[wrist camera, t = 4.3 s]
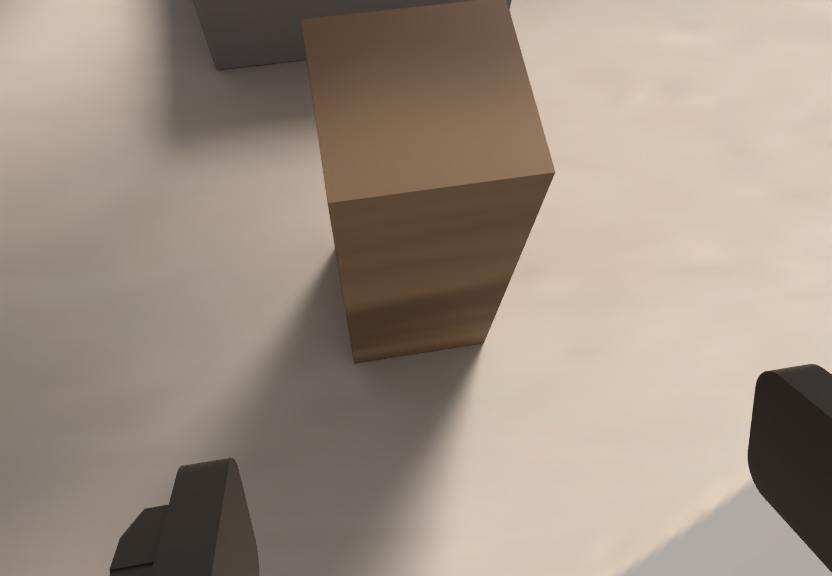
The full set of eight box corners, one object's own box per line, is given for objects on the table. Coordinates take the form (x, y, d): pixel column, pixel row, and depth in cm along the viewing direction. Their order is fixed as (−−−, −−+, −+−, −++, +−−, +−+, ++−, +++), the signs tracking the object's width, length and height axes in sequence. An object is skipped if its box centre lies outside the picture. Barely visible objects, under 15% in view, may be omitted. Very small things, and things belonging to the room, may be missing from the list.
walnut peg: (483, 343, 24) (554, 172, 14) (354, 363, 23) (327, 203, 13) (458, 227, 25) (505, -4, 15) (336, 244, 25) (301, 19, 15)
